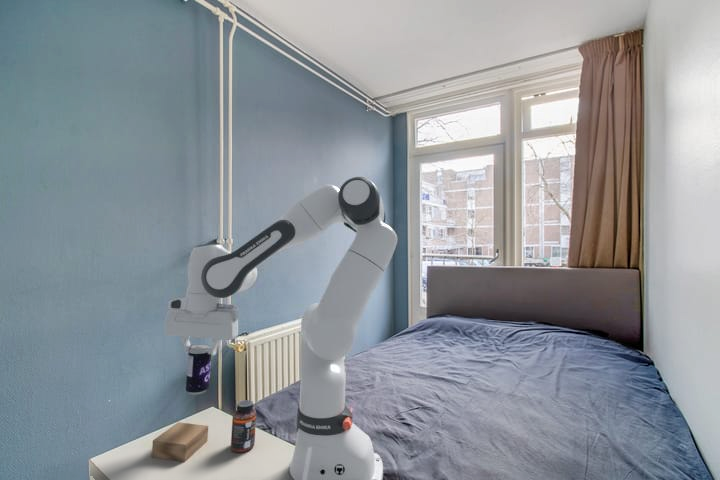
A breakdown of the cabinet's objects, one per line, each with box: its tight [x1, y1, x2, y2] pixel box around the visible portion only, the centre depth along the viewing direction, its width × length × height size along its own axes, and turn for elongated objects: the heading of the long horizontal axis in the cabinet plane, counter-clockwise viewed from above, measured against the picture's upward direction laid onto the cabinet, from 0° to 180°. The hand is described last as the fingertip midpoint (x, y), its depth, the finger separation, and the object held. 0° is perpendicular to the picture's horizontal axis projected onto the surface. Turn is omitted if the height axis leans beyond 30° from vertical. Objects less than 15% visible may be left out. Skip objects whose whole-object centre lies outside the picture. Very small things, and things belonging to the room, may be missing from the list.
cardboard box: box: [151, 421, 209, 463], centre depth 83 cm, size 9×9×4 cm
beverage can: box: [185, 343, 212, 396], centre depth 88 cm, size 6×6×12 cm
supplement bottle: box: [230, 399, 257, 453], centre depth 85 cm, size 6×6×11 cm
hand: (200, 353), depth 88 cm, fingers closed on beverage can, 6 cm apart
